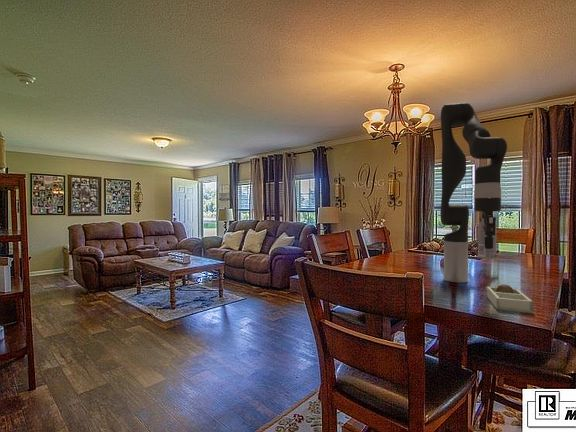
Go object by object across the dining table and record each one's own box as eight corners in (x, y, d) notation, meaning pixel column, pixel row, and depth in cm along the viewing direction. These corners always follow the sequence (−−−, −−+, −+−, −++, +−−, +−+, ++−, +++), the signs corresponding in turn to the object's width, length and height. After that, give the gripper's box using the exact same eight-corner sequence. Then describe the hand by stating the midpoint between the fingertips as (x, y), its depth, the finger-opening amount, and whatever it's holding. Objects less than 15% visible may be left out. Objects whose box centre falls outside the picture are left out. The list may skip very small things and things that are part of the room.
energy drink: (491, 257, 106) (491, 222, 106) (499, 259, 101) (500, 222, 101) (474, 256, 107) (474, 222, 107) (482, 259, 102) (482, 222, 102)
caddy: (486, 296, 111) (486, 286, 110) (517, 299, 107) (517, 289, 107) (497, 309, 96) (497, 298, 96) (533, 313, 92) (533, 301, 92)
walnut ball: (494, 296, 108) (494, 282, 108) (511, 297, 106) (511, 283, 106) (498, 299, 104) (498, 285, 104) (515, 301, 102) (515, 286, 102)
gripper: (471, 198, 112) (471, 245, 112) (477, 196, 99) (477, 249, 99) (496, 198, 109) (496, 246, 109) (505, 195, 96) (505, 250, 96)
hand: (487, 247), depth 104 cm, fingers closed on energy drink, 5 cm apart
